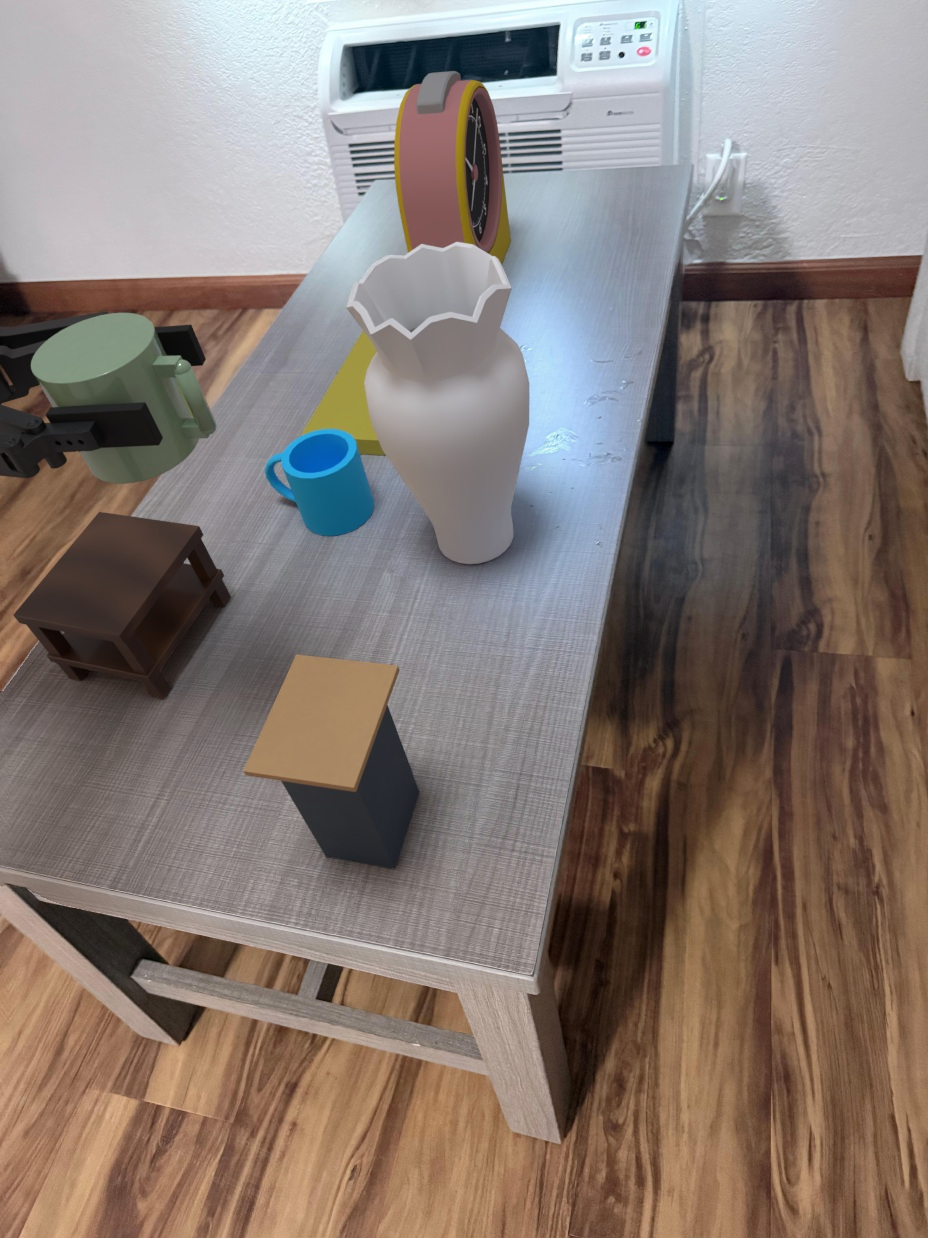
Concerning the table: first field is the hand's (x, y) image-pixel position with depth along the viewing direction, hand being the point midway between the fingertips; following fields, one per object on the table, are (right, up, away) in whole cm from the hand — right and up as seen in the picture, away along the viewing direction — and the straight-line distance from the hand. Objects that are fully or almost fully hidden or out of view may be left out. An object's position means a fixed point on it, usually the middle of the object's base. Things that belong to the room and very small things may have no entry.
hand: (175, 382), depth 57 cm
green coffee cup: (-3, -3, +4) cm, 6 cm away
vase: (+20, -7, +35) cm, 41 cm away
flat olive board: (+8, +13, +55) cm, 57 cm away
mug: (+3, -3, +42) cm, 42 cm away
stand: (+11, -32, +15) cm, 37 cm away
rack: (-13, -17, +33) cm, 39 cm away
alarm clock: (+19, +35, +72) cm, 82 cm away
